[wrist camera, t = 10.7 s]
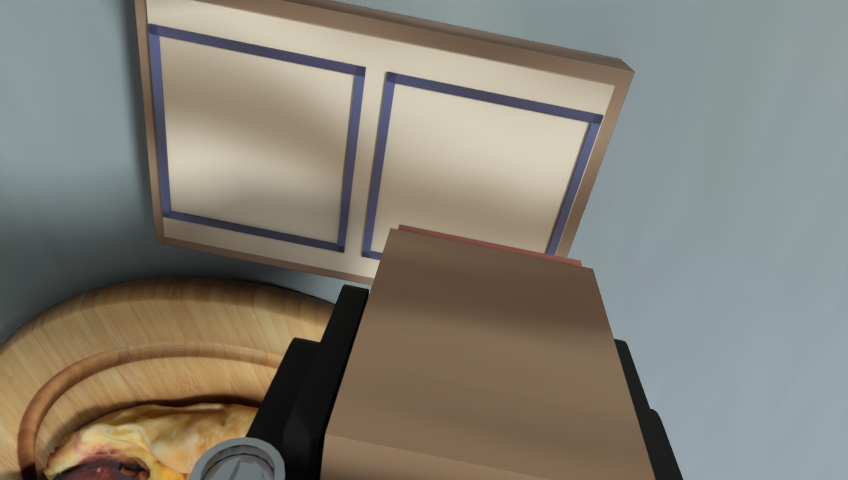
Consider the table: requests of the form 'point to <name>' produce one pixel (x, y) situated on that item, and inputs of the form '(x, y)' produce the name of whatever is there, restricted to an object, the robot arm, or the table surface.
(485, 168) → the form board
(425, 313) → the stamp
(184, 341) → the wooden plate with food
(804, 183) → the table surface
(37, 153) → the table surface
